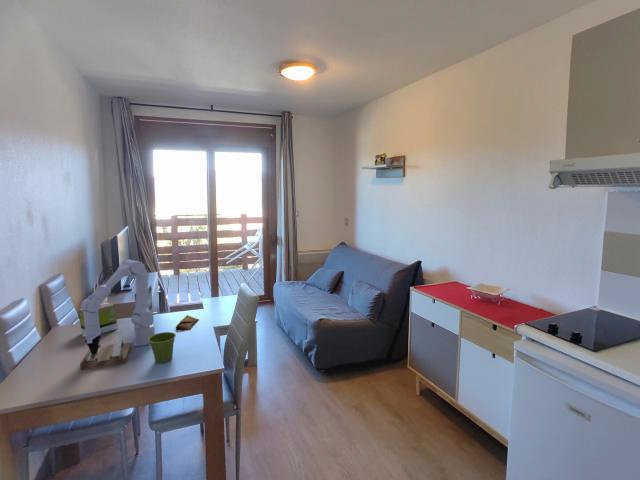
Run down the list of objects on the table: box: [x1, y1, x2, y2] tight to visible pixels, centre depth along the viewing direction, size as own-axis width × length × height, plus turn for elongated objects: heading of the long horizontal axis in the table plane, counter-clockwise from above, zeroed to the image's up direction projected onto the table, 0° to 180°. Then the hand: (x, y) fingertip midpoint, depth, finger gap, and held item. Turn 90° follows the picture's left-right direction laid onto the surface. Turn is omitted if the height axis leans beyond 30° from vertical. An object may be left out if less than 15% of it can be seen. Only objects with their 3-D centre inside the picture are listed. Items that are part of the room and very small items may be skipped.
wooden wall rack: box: [79, 341, 133, 371], centre depth 170 cm, size 18×18×5 cm
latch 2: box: [112, 334, 124, 358], centre depth 169 cm, size 3×13×1 cm, turn 20°
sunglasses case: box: [175, 314, 200, 331], centre depth 212 cm, size 18×7×7 cm
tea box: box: [78, 301, 118, 335], centre depth 202 cm, size 15×10×15 cm, turn 144°
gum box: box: [134, 284, 154, 325], centre depth 207 cm, size 20×5×23 cm, turn 13°
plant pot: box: [148, 331, 177, 364], centre depth 167 cm, size 12×12×11 cm
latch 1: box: [87, 347, 101, 361], centre depth 167 cm, size 3×13×1 cm, turn 20°
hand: (94, 352), depth 168 cm, fingers closed on latch 1
